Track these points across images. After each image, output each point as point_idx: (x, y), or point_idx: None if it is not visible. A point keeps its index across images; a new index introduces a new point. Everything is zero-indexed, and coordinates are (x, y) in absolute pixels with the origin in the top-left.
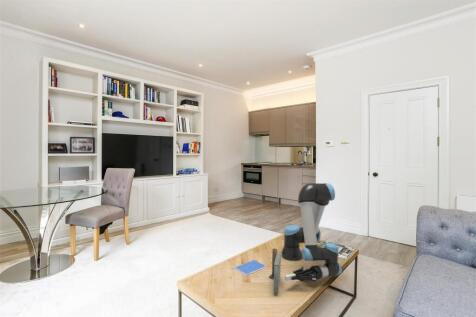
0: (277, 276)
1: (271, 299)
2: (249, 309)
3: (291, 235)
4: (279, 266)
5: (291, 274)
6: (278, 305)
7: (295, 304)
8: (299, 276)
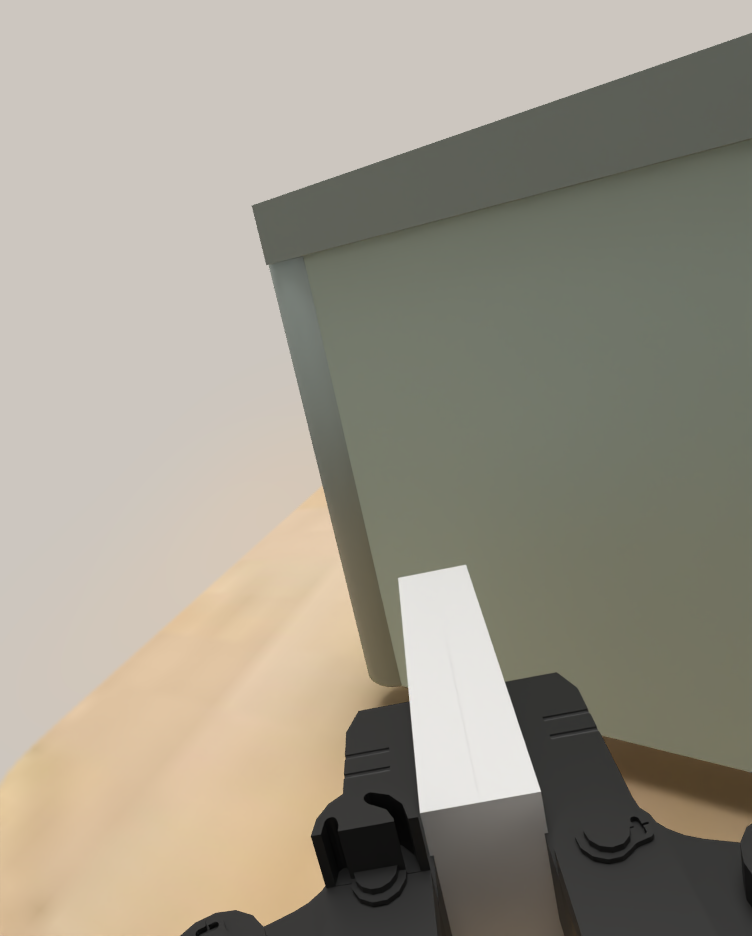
0: (306, 416)
1: (335, 651)
2: (293, 536)
3: None
4: (644, 356)
5: (494, 684)
6: (199, 689)
7: (45, 889)
8: (257, 932)
